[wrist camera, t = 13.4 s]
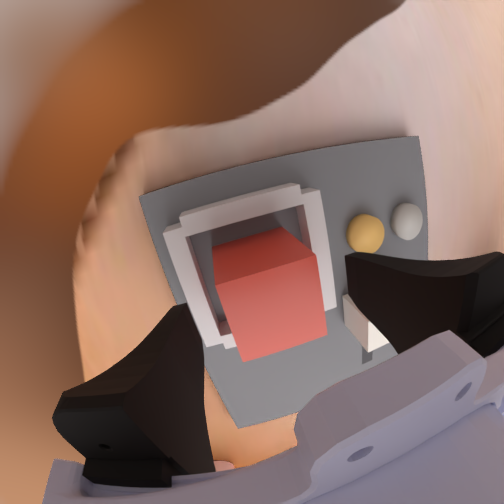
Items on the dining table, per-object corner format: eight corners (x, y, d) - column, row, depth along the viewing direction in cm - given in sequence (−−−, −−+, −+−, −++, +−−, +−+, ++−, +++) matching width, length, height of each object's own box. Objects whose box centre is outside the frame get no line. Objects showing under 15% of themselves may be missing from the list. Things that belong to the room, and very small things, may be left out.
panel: (407, 136, 16) (433, 135, 13) (410, 351, 22) (425, 367, 20) (143, 194, 14) (131, 200, 12) (236, 418, 21) (240, 441, 19)
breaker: (391, 276, 17) (420, 297, 14) (390, 304, 18) (417, 327, 15) (342, 295, 17) (368, 322, 14) (344, 324, 18) (368, 352, 14)
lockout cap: (281, 226, 15) (316, 254, 10) (295, 288, 16) (327, 334, 12) (211, 246, 15) (215, 285, 10) (231, 308, 16) (242, 362, 11)
